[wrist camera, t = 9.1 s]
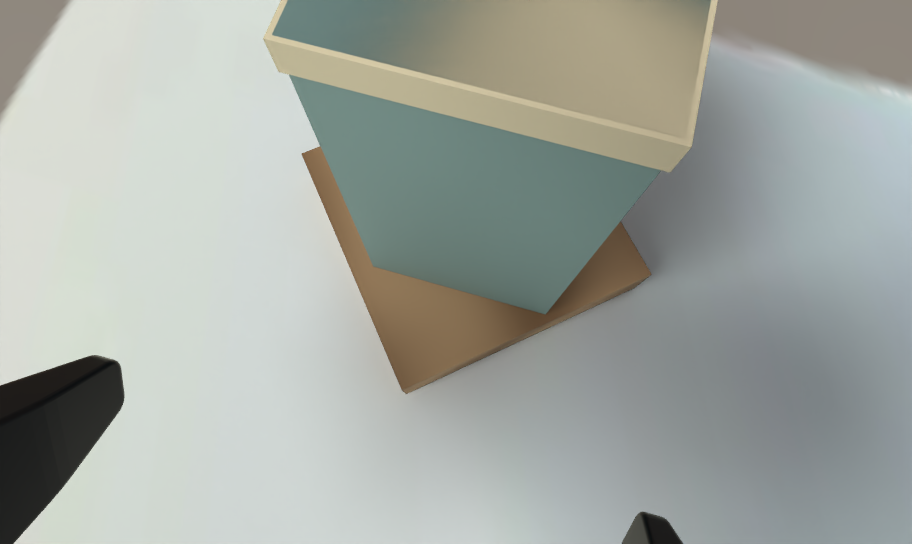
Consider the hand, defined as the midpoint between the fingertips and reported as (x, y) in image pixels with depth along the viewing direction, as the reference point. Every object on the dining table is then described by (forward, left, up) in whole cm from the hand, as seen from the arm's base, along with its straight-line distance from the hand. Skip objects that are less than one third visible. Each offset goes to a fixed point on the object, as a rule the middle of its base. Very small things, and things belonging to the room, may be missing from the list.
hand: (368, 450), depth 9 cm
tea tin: (+6, +6, -10) cm, 13 cm away
